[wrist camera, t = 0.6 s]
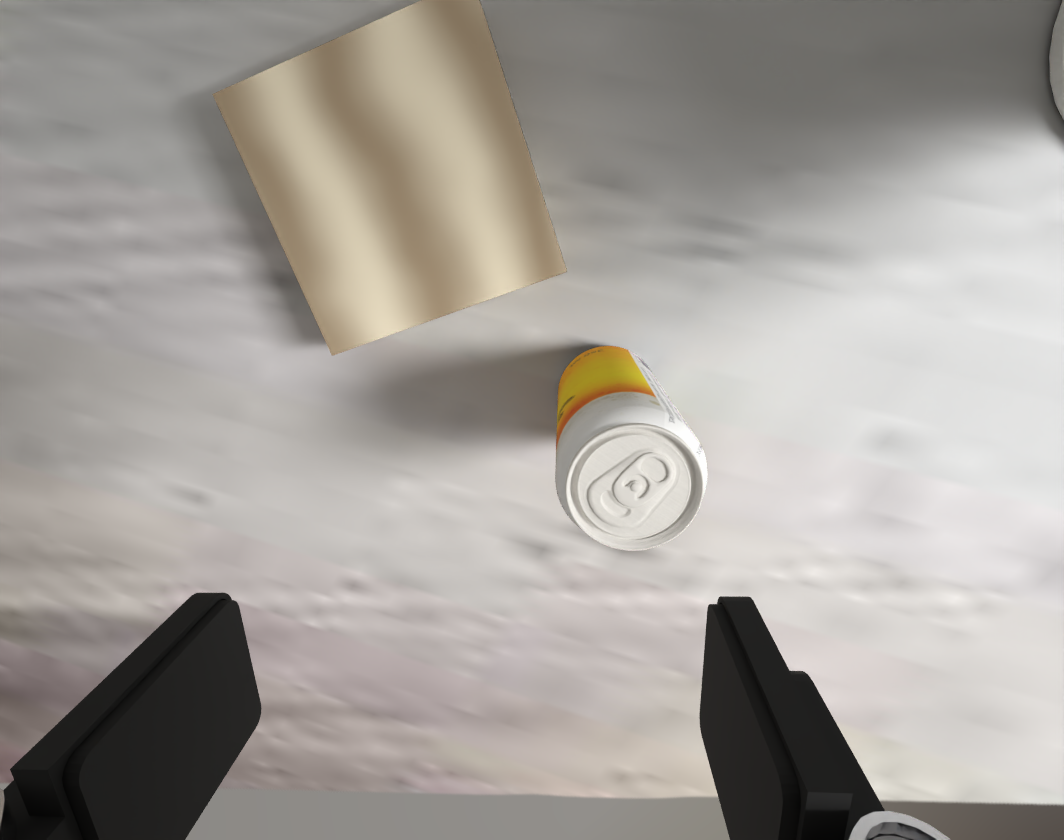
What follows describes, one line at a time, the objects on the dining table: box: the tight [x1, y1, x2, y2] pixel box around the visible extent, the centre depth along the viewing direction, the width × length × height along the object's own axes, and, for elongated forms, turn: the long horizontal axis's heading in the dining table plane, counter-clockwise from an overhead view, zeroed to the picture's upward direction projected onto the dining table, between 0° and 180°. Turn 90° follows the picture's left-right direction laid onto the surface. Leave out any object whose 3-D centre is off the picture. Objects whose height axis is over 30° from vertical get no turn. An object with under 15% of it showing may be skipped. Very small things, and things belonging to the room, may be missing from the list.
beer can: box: [555, 346, 708, 551], centre depth 29 cm, size 6×6×15 cm
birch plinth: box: [213, 0, 567, 356], centre depth 31 cm, size 14×14×4 cm
